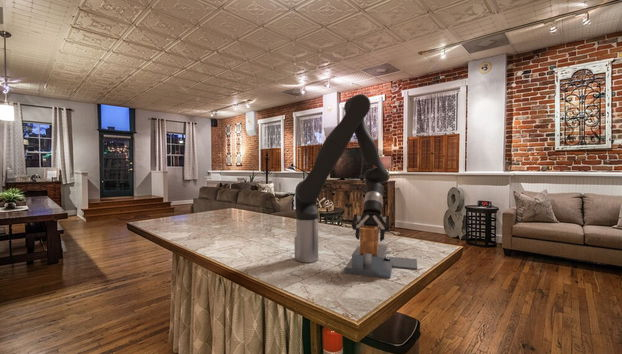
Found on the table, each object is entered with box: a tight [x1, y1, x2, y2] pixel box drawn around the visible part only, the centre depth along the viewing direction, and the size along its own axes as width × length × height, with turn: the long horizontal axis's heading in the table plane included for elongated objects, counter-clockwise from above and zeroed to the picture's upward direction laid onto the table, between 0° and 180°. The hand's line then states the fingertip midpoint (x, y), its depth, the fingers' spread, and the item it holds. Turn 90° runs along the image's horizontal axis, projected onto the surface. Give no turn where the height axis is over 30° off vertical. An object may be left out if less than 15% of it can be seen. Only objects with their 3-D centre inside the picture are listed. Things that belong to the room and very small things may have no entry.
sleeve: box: [359, 226, 380, 254], centre depth 108 cm, size 6×6×9 cm
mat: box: [386, 255, 418, 271], centre depth 116 cm, size 12×12×1 cm
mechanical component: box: [379, 240, 392, 255], centre depth 134 cm, size 10×4×10 cm
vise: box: [344, 245, 394, 279], centre depth 109 cm, size 16×12×14 cm
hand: (369, 239), depth 108 cm, fingers open, 8 cm apart
